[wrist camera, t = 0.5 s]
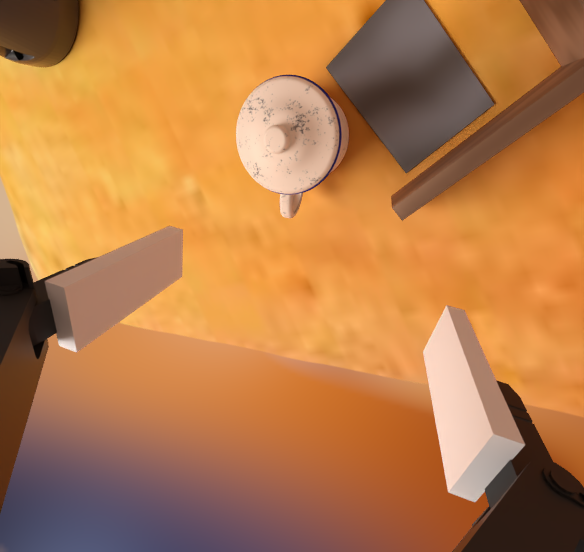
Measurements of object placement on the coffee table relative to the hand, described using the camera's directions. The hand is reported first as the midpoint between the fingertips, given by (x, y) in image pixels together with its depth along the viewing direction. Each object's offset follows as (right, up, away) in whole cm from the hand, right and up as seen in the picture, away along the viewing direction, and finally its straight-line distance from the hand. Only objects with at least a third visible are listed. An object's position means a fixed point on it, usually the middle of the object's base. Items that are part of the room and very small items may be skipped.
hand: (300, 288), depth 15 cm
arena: (+13, +19, +13) cm, 26 cm away
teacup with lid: (+1, +14, +19) cm, 24 cm away
